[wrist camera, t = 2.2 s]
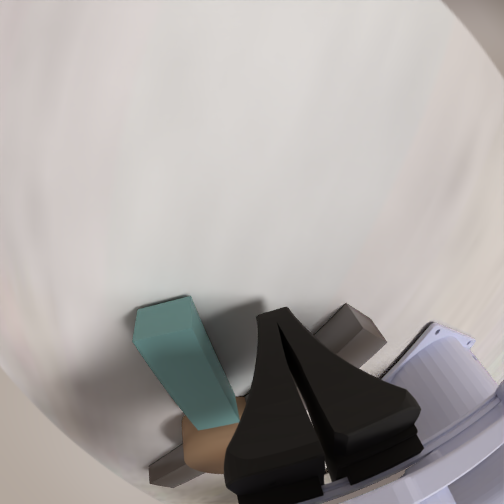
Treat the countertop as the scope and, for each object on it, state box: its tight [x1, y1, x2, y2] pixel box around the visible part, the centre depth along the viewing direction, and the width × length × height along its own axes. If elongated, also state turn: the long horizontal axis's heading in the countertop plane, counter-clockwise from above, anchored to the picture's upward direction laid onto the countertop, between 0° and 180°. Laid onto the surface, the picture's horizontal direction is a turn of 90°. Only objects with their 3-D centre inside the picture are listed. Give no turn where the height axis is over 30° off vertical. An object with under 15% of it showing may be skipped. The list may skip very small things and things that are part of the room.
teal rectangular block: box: [132, 296, 240, 430], centre depth 14 cm, size 8×2×2 cm, turn 12°
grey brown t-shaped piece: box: [149, 303, 387, 488], centre depth 19 cm, size 16×24×3 cm, turn 142°
